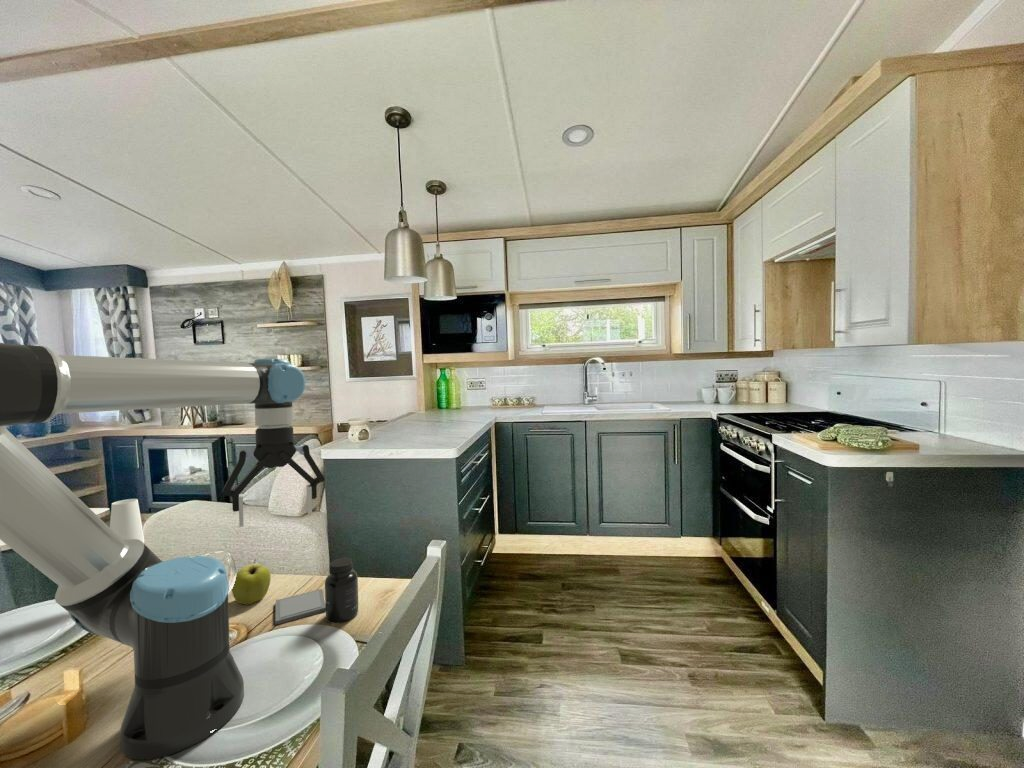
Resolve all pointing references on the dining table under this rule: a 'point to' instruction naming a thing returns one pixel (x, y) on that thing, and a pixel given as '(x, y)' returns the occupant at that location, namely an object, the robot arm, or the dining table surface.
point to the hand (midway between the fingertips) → (276, 519)
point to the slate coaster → (299, 606)
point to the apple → (251, 583)
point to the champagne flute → (127, 520)
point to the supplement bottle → (341, 591)
